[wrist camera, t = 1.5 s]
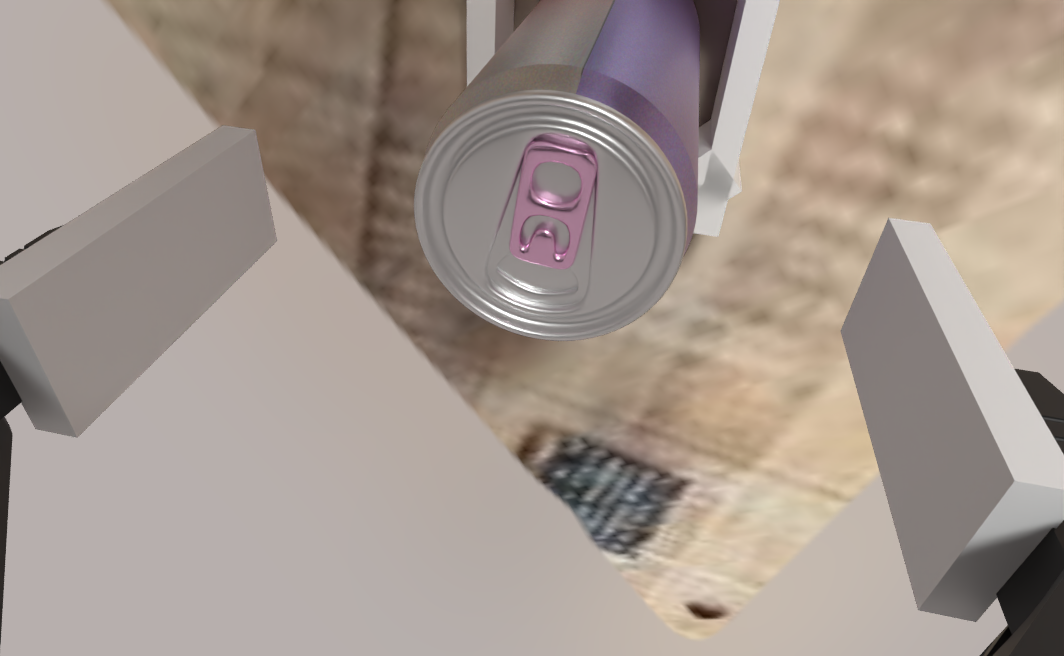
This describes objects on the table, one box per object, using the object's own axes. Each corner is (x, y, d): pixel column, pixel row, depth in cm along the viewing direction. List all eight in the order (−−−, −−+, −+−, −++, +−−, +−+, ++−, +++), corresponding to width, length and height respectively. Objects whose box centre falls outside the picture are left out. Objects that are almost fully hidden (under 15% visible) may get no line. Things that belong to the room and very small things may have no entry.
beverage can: (723, -32, 23) (743, 127, 12) (672, 132, 27) (649, 376, 15) (555, -70, 24) (411, 48, 12) (528, 97, 27) (398, 312, 16)
